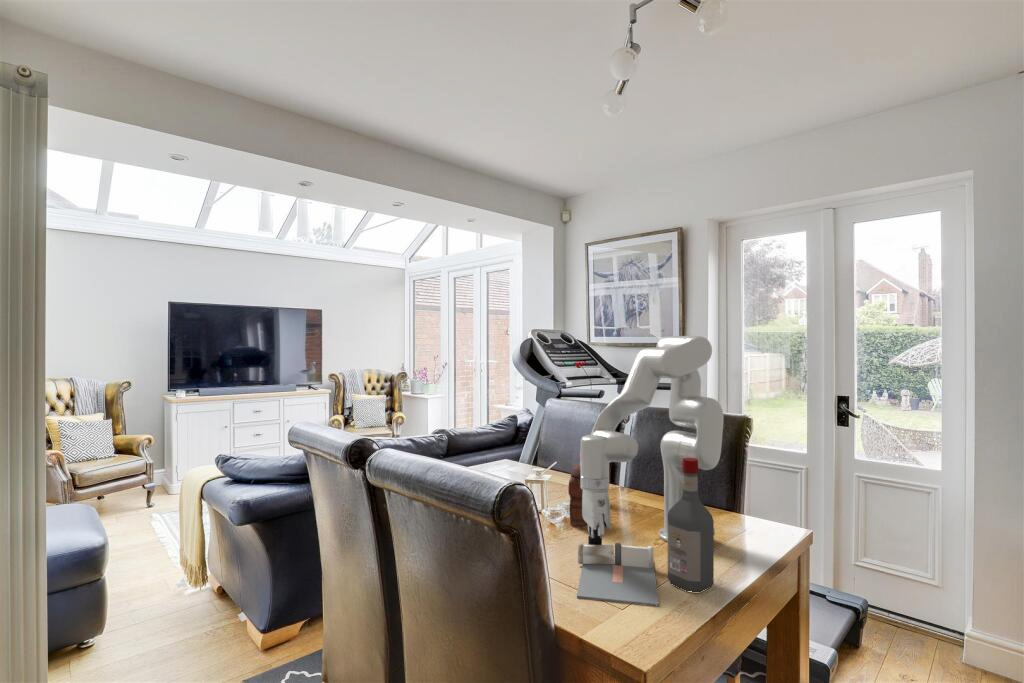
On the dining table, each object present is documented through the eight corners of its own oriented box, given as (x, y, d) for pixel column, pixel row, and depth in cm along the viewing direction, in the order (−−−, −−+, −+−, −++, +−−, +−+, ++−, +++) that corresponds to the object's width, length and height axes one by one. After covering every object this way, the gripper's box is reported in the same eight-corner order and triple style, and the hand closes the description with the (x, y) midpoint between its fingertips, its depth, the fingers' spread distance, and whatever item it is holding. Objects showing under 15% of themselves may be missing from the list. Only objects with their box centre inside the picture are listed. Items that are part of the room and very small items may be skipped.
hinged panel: (613, 561, 135) (613, 543, 135) (613, 564, 134) (613, 545, 134) (577, 561, 135) (577, 543, 135) (578, 564, 134) (578, 545, 134)
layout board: (652, 561, 137) (652, 539, 137) (658, 606, 114) (658, 580, 114) (584, 555, 141) (584, 534, 141) (576, 597, 118) (576, 572, 118)
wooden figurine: (586, 528, 162) (586, 470, 162) (566, 525, 164) (566, 469, 164) (595, 516, 173) (595, 462, 173) (576, 514, 175) (576, 461, 175)
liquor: (695, 596, 119) (695, 465, 119) (662, 581, 126) (662, 458, 126) (718, 585, 124) (718, 460, 124) (685, 571, 131) (685, 453, 131)
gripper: (619, 489, 130) (619, 562, 130) (598, 474, 145) (598, 539, 145) (590, 491, 129) (591, 564, 129) (572, 476, 144) (573, 542, 144)
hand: (595, 551), depth 137 cm, fingers closed
